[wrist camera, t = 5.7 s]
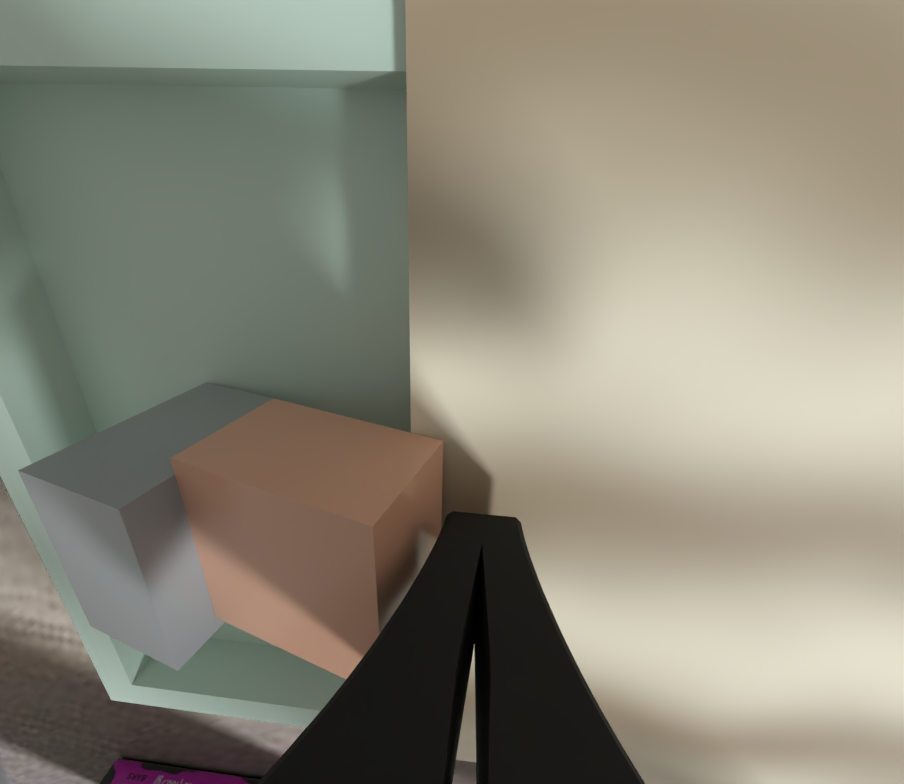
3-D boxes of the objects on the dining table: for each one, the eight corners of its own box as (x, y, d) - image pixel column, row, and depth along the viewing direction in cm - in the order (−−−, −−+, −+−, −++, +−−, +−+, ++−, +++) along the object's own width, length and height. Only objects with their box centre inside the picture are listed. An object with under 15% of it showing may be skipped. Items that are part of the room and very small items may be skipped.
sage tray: (427, 672, 16) (416, 742, 14) (157, 638, 17) (111, 700, 15) (433, 25, 8) (409, -20, 6) (-79, 22, 9) (-244, -18, 7)
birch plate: (825, 722, 15) (881, 820, 13) (427, 672, 16) (414, 753, 14) (1284, 30, 7) (1649, -33, 5) (433, 25, 8) (405, -28, 6)
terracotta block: (439, 591, 10) (383, 696, 8) (295, 538, 12) (216, 617, 10) (443, 440, 9) (372, 526, 7) (273, 398, 10) (170, 458, 8)
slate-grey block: (177, 671, 9) (90, 625, 10) (308, 534, 12) (235, 509, 13) (118, 509, 7) (17, 470, 8) (289, 402, 11) (206, 381, 11)
